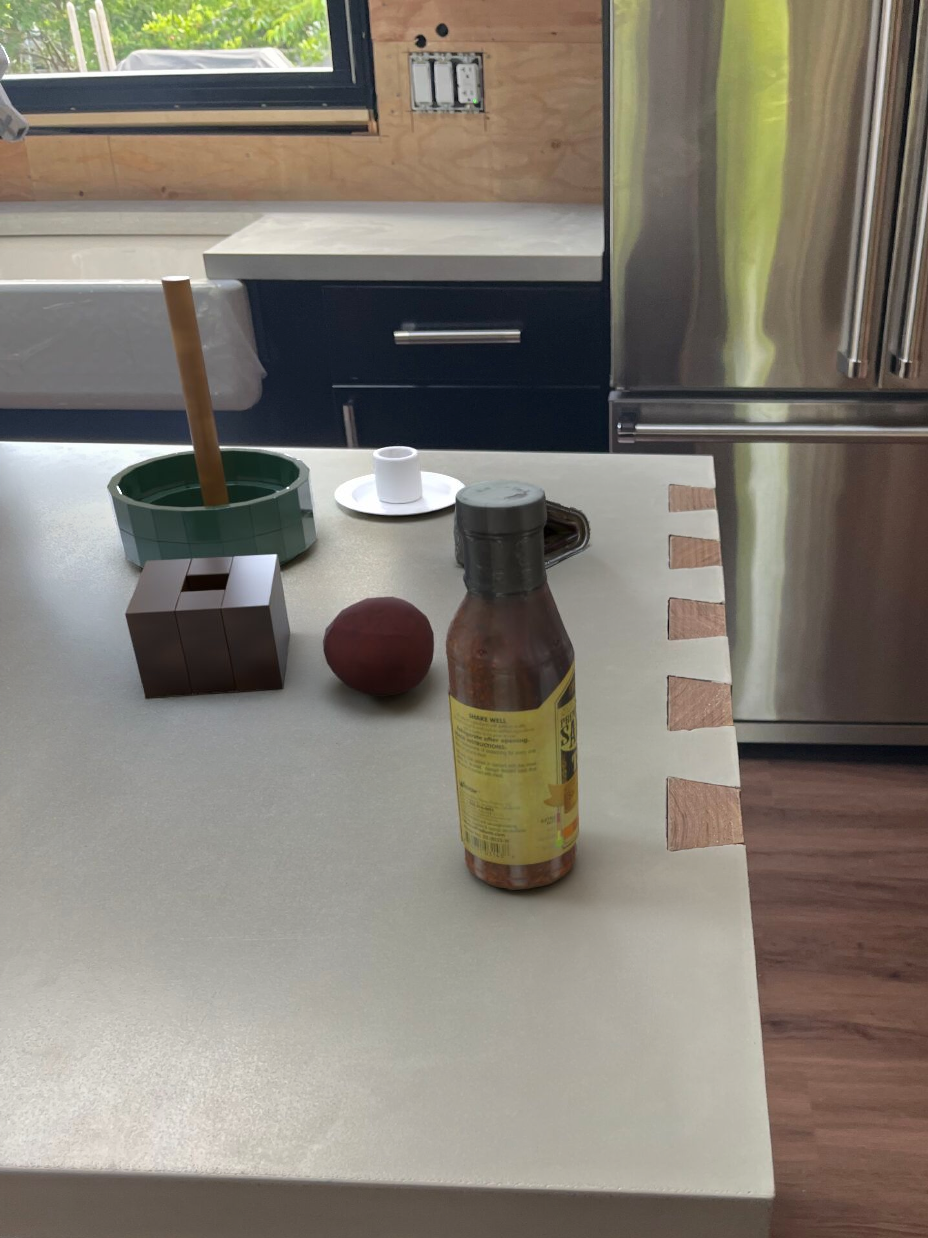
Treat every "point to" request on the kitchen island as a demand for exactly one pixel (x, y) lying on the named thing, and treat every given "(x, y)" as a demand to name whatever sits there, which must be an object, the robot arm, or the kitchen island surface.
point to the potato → (380, 646)
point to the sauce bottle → (511, 694)
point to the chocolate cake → (551, 534)
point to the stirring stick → (195, 388)
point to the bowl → (214, 508)
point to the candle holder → (398, 486)
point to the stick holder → (209, 625)
